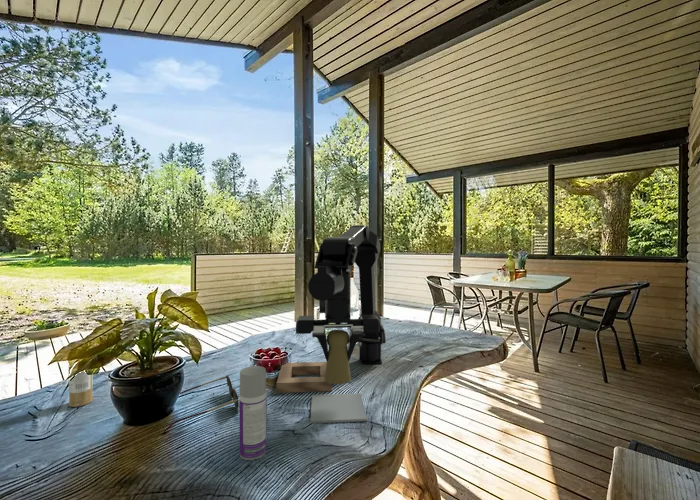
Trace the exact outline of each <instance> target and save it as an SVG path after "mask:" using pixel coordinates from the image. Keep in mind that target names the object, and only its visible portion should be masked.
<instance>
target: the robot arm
mask: <svg viewBox="0 0 700 500" xmlns="http://www.w3.org/2000/svg"><path fill="white" fill-rule="evenodd" d="M380 253H381V242H380V239H379V236H378V235H377V234H376V233H375V232H373V231H371V230H370V227H369V226H367V225H365V224H364V225H363V224H358V225H355V224H353V225H352V226H351V225H350V226H349V228H348V229H347V230H346V231H344V232H343V233H342V234H341V235H339V236H330V237H326V238H324V239H323V240H322V243H321V244H320V246H319V249H318V253H317V257H316V260H315V264H314V269H317V271H316V273H314V274H313V275H312V276H311V277H310V278H309V280H308V283H307V288H308V291H309V294H310V295H311V296H312V297H313V298H314V299H315V300H317V301H319V303H318V304H319V307H318V310H319V314H324V318H325V319H315V315H299V316H298V317H297V318H296V322H295V334H298V335H302V334H303V335H306V334H308V335H309V334H311V333H312V334H311V335H312V336H311V337H313V338H316V339H317V340H318V342H319V344H320V346H321V349H322V351H323V354H324V357H325V362H327V361H328V358H329V355H328V350H329V345H328V343H327V333H326V332H327V331H326V329H339V328H340V329H343V328H346V329H347V328H349V329H348V330H349V331H348V334H349V343H348V344H347V351H348V361H349V362H350V361H351V358H352V355H353V353H354V349H355V347H356V345H357V343H360V344H358V360H359V361H360V363H361V365H371V364H372V365H374V364H375V365H376V364H382V363H383V360H382V345H383V344H386V343H387V340H386V339H387V337H386V336H387V335H386V332H385V328H384V325H383V324H382V317H381V316H380V314H379V313H378V312H377V309H376V288H375V287H376V286H375V284H376V282H375V264H376V263H377V261H378V259H379V257H380ZM355 265H356V266H357V267H358V274H359V275H358V276H359V277H358V278H359V295H360V297H359V298H360V299H359V300H360V315H359V317H358V318H351V317H352V316H351V315H352V314H351V313H352V312H351V311H352V309H351V302H352V301H351V299H352V298H351V291H352V290H351V286H352V285H351V277H352V276H351V275H352V274H351V272H352V267H353V266H355Z"/></svg>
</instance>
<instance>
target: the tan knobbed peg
mask: <svg viewBox="0 0 700 500" xmlns="http://www.w3.org/2000/svg"><path fill="white" fill-rule="evenodd" d="M326 339H327V346H328V355H329V358H328V361H326V362H327V365H326V372H325V381H327V382H328V383H332V385H333V384H334V385H341V384H345V383H349V382H350V381H351V379H352V376H351V369H350V368H351V367H350V360H349V361H348V351H347V349H348V343H349V331H346V330H344V329H332V330H330V331H329V332H327V333H326Z"/></svg>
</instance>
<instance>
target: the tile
mask: <svg viewBox="0 0 700 500" xmlns="http://www.w3.org/2000/svg"><path fill="white" fill-rule="evenodd" d="M366 413H367V412H366V409H365V404H364V401H363V398H362V394H361V393H360V392H359V393H335V394H332V393H331V394H312V395H311V409H310V424H325V423H326V424H328V423H329V424H330V423H333V424H334V423H351V422H352V423H353V422H354V423H355V422H368V417H367V414H366Z"/></svg>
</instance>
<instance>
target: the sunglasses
mask: <svg viewBox="0 0 700 500" xmlns="http://www.w3.org/2000/svg"><path fill="white" fill-rule="evenodd" d="M225 379H226V384H227V387H228V393H229V396H230V398H231V399H232V400H230V401H228V402H226V403H223V404H222V405H218V406H216V407H214V408H211V409H208V410H204V411H202V412H198V413H195V414H192V415H189V416H186V417H183V418H180V419H178V420H175V421H173V422H172V423H171V424H170V425H168V427H166V428H165V429H164V430H163V431H166V430H167V431H168V430H169V429H170V428H172V427H173V426H174V425H175V424H177V423H179V422H182V421H185V420H187V419H191V418H194V417H196V416H199V415H203V414H206V413H209V412H211V411H214V410H217V409H220V408H223V407H224V406H227V405H231V404H233V403H234V408H235V410H236V412H238V413H239V396H238V393H237V391H236V389H235V388H234V387H233V383H232V381H231V379H230V376H229V375H228V374H227V375H226V376H222V377H219V378H217V379H214V380H211V381H207V382H205V383H202V384H200V385H197V386H193V387H191V388H188V389H186V390H183V391H181V392H179V393H180V395H181V394H184V393H186V392H190V391H192V390H194V389H197V388H201V387H203V386H205V385H208V384H211V383H214V382H217V381H221V380H225ZM167 431H166V432H167Z"/></svg>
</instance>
